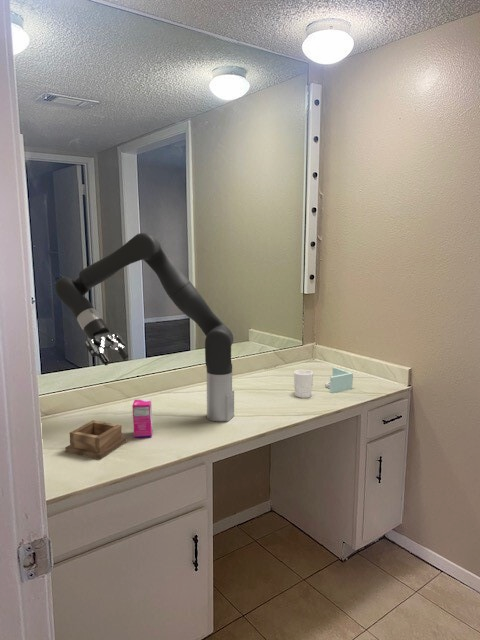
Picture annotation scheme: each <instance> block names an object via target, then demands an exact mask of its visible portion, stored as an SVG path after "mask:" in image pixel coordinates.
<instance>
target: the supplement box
mask: <svg viewBox="0 0 480 640" xmlns="http://www.w3.org/2000/svg"><path fill="white" fill-rule="evenodd" d="M131 408H132V421H133V425H132V426H133V438H134V439H144V438H146V439H147V438H152V437H153V433H154V427H153V409H152V399H151V398H145V399H144V398H143V399H134V401H133V404H132V407H131Z"/></svg>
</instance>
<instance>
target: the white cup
mask: <svg viewBox="0 0 480 640" xmlns="http://www.w3.org/2000/svg"><path fill="white" fill-rule="evenodd" d="M313 378H314V371H312V370H309V369H296V370H294V372H293V379H294V380H293V383H294V386H293V387H294V396H295V397H296V398H303V399H306V398H310V397H312V390H313V384H314V383H313V381H314V379H313Z"/></svg>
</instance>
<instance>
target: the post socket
mask: <svg viewBox="0 0 480 640" xmlns="http://www.w3.org/2000/svg"><path fill="white" fill-rule="evenodd" d="M122 433H123V432H122V425H121V424H116V423H111V422H105V421H99V420H93V419H92V420H91V421H88V422H87V423H85V424H83V425H81V426H79V427H78V428H76V429H74V430H72V431H70V432H69V445H67V446H65V447H64V448H65V449H64V451H65V453H68V454H73V455H78V456H83V457H88V458H93V459H96V460H102V459H104V458H105V457H107V456H108V455H110V454H112V453H113V452H114V451H116V450H117V449H119V448H120V447H121V446H123V445H125V444H126V443H127V437H123V435H122Z"/></svg>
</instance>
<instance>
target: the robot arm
mask: <svg viewBox="0 0 480 640" xmlns="http://www.w3.org/2000/svg"><path fill="white" fill-rule="evenodd" d="M139 261H144V262H145V263H146V264H147V265H148V267H150V268H151V270H152V271H153V272H154V273H155V275H156V276H157V278H158V280H159V282H160V284H161V286H162V288H163V290H164V292H165V293H166V295H167V297H169V299H170V300H171V301H172V303H173V304H174V305H175V306H176V307H177V309H178V310H180V311H181V313H183V314H184V315H185V316H187V317H188V318H189V319H191V320H192V321H193V322H194V323H196V324H197V326H198V327H199V329H201V331H202V332H203V334H204V335H205V342H204V353H205V354H204V358H205V361H204V362H205V366H206V418H207V420H210V421H213V422H229V421H230V420H231V419H232V418H234V417H235V391H234V390H233V364H232V345H233V343H234V335H233V333H232V331H231V330H230V328H229V327H228V326H227V325H226V324H225V323H223V321H222V320H221V319H220V318H219V317H218V316H217V315H216V314H215V313H214V312H213V310H212V309H211V307H210V306H209V305H208V303H207V302H206V300H205V299H204V297H203V296H202V295H201V294H200V293H199V291H198V290H197V288H196V287H195V286H194V284H193V283H192V282H191V281H190V280H189V278H187V276H186V275H185V274H184V273H183V272H182V270H180V268H179V267H178V266H177V265H176V264H175V263H174V262H173V261H172V259H171V258H170V257H169V255H168V254H167V252H166V251H165V249H164V248H163V246H162V244H161V243H160V241H159V240H158V238H157V237H156V236H155V235H153V234H151V233H147V232H140V233H137V234H136V235H134V236H133V237H131V239H129V240H128V241H127V242H125V244H123V245H122V246H121V247H119V248H118V249H116V250H115V251H114V252H112V253H110V254H108V255H106V256H104V257H103V258H101V259H99V260H97V261H96V262H94V263H92V264H90V265H88V266H86V267H85V268H83V269H82V270H80V272H79V273H78V276H79V277H77V278H76V279H71V278H70V277H64V276H63V277H60V278H58V279H57V280H56V282H55V284H54V291H55V293H56V295H57V297H58V298H59V299H60V300H61V301H62V303H63V304H65V306H66V307H68V309H69V310H70V311H71V312H72V314H73V316H74V317H75V319H76V320H77V323H78V325H79V326H80V328H81V329H82V331H83V332H84V334H85V335H86V337H87V340H86V341H85V342H84V345H85V347H86V349H87V351H88V352H89V354H90V356H91V357H93V358H94V357H97V358H98V359H99V360H100V361H101V363H102V364H103V365H104V366H108V365H109V364H110V359H109V358H108V357H107V355H106V354H105V353H104V351H105V350H107V349H111V350H115V351H117V352H118V354H119V355H120V356H121V358H122V360H123V361H127V359H128V358H129V354H128V352H127V351H126V350H125V348H126V347H127V343H126V341H125V340H124V339H123V337H122V336H121V334H120V333H119V332H115V333H114V334H111V333H110V329H109V326H108V325H107V324H106V322H105V321H104V319H103V317H102V316H101V315H100V313H99V312H98V311H97V310H96V308H94V306H93V304H92V303H91V302H90V300H89V299H88V298H87V297H85V295H86V294H87V293H88V292H90V290H91V289H92V288H94V287H95V286H98V285H100V284H101V283H103V282H105V281H106V280H109V278H111V277H112V276H113V275H115V274H117V272H119V271H121V270H122V269H123V268H125V267H127V266H129V265H131V264H133V263H136V262H139Z"/></svg>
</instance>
